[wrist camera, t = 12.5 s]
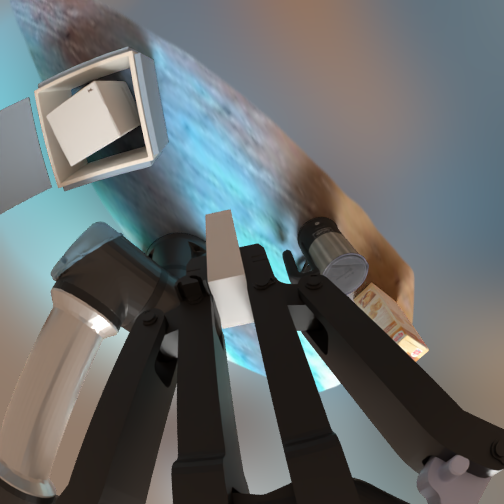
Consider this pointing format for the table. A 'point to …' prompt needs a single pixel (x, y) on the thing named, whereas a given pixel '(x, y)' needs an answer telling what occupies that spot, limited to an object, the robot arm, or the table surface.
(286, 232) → the table surface
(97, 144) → the supplement box
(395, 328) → the coffeecake box
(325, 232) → the milk frother
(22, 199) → the flap
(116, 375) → the robot arm
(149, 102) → the carton
